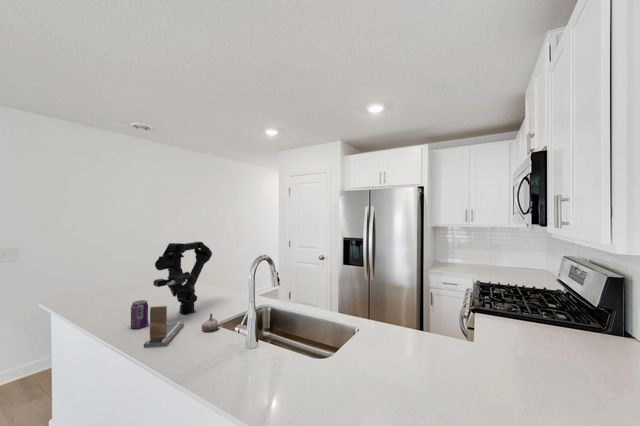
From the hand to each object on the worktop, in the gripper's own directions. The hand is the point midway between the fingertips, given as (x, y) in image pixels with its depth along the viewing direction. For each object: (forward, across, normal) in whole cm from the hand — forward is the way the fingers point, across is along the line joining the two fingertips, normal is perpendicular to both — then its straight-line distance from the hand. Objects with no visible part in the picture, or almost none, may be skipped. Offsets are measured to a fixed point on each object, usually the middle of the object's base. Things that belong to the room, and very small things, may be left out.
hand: (174, 296), depth 143 cm
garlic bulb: (+12, +4, -27) cm, 30 cm away
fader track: (+12, -12, -17) cm, 24 cm away
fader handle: (+11, -17, -22) cm, 30 cm away
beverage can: (+12, -15, +4) cm, 20 cm away
